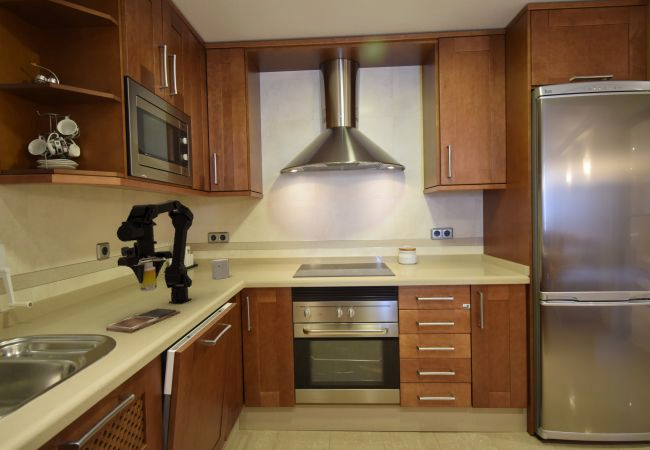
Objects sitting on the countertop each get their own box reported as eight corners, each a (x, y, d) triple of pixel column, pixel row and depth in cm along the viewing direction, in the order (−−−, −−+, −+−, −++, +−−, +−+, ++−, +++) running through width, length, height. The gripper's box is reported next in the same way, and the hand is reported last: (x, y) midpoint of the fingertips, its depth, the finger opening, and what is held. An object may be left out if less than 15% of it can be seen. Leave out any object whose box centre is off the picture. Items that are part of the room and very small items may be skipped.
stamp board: (157, 311, 130) (157, 307, 130) (180, 313, 127) (180, 309, 126) (106, 330, 111) (105, 325, 110) (131, 333, 107) (130, 328, 107)
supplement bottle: (159, 289, 124) (157, 261, 123) (142, 292, 120) (140, 264, 119) (154, 287, 127) (152, 260, 127) (137, 290, 124) (135, 262, 123)
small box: (224, 276, 196) (224, 258, 196) (229, 277, 192) (228, 259, 192) (211, 278, 191) (210, 260, 190) (216, 279, 187) (215, 261, 186)
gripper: (151, 236, 134) (153, 275, 135) (105, 241, 117) (108, 286, 118) (172, 236, 130) (174, 276, 131) (127, 241, 113) (130, 287, 114)
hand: (147, 281), depth 123 cm, fingers closed on supplement bottle, 5 cm apart
